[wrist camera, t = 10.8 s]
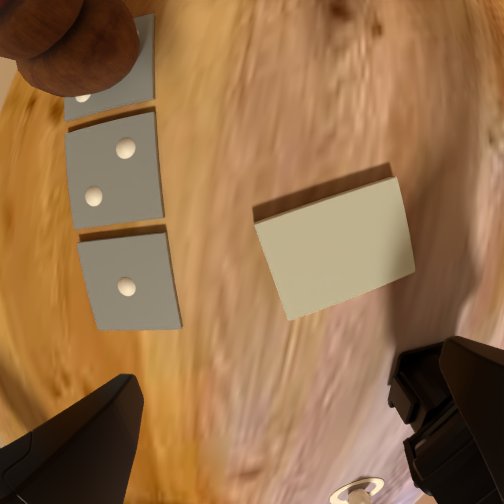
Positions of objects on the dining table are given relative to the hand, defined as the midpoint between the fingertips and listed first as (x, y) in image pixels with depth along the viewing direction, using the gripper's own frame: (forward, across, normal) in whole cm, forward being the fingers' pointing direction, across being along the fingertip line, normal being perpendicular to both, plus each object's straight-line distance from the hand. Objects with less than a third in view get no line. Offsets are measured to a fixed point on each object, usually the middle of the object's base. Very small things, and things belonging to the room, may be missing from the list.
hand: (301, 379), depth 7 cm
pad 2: (+13, +10, -6) cm, 18 cm away
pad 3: (+13, +10, +2) cm, 16 cm away
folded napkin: (+13, -5, 0) cm, 14 cm away
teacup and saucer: (+14, -8, +38) cm, 41 cm away
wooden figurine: (+13, +10, -14) cm, 22 cm away
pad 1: (+13, +10, -14) cm, 22 cm away
